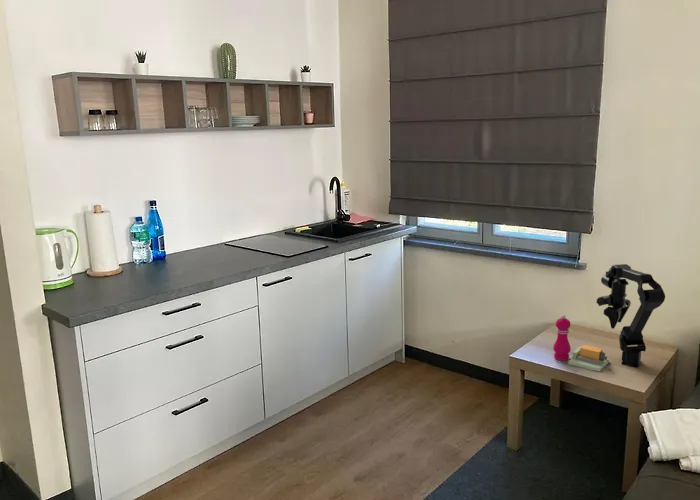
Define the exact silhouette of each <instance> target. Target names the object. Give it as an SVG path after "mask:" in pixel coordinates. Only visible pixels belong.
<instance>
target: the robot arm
mask: <svg viewBox="0 0 700 500" xmlns="http://www.w3.org/2000/svg"><path fill="white" fill-rule="evenodd" d="M600 280H601V281H600V282H601V284H602V285H603V286H605V287H607V288H608V289H611V291H610V294H609V295H604V296H599V297H597V299H596V302H595V303H596V304H598V306H599V307H601V306H606V305H607V307H606V308H604V309H603V315H604V316H605V317H607V318H608V320H609V324H610V328H611V329H615V327H616V325H618V323H621V322H622V321H623V318H624V317H625V316H626V315H627V314H626V313H627V312H628V310H629V309H630V307H631V304H632V302H631V300H629V299H627V298H626V297H627V296H628V295H627V292H626V291H627V286H629V285H630V283H629V282H628V280H629V281H631V282H632V281H633V282H635V283H637V289H636V291H637V294H638V296H639V297H638V300H639V301H640V305H639V307H638V309H637V311H636V313H635V314H634V317H633V319H632V320H631V323H630V325H625V326H623V327H622V329H621V331H619V332H620V334H619V336H618V340H619V341H618V342H619V348H620V350H621V361H622V362H621V365H626V366H629V367H634V368H638V367H639V366H640V365H641V364H642V362H643V361H642V359H641V358H642V352H646V349H647V346H646V344H645V341H644V335H643V333H642V332H643V330H644V328H645V326H646V325H647V322H648V321H649V319H650V317H651V315H652V314H653V311H654V310H656V309H657V308H660V307H661V306H662V305H663V303H664V302H665V300H666V294H665V291H664V290H663V288H662V285H661V284H660V283H658V282H657V281H656V280H654V278H653V275H652V274H650V273H645V272H642V271H639V270H635V269H632V267H631V266H630V265H628V264H626V263H625V264H612V265H611V267H610V268H609V269H608V271H605V274H604V275H602V277H601V278H600ZM645 284H648V286H649V287H650V289H644V288H643V285H645ZM651 288H652V289H651Z"/></svg>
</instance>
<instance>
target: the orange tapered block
mask: <svg viewBox="0 0 700 500" xmlns="http://www.w3.org/2000/svg"><path fill="white" fill-rule="evenodd" d="M580 347H581V348H580V356H581V357H585V358H589V359H593V360H598V361H604V358H605V356H606V353H605V351H603V350H604V349H603V348H600V347H595V346H593V345H587V344H583V345H581V346H580Z"/></svg>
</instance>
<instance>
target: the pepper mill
mask: <svg viewBox="0 0 700 500" xmlns="http://www.w3.org/2000/svg"><path fill="white" fill-rule="evenodd" d="M555 327H556V332H557V337H556V340H555V342H554V344H553V352H554V354H553V357H554V359H555V360H558V361H563V362H564V361H569V360H570V353H571V352H572V351H571V345H570V342H569V338H568V334H569V332H570V328H571V322H570V320H569V319H568V318H566V315H564V314H561V316H560V318H557V319H556V321H555Z"/></svg>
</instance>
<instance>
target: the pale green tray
mask: <svg viewBox="0 0 700 500" xmlns="http://www.w3.org/2000/svg"><path fill="white" fill-rule="evenodd" d="M581 347H582V346H578V347H576V349H575V350H573V351H572V357H571V358H569V359H568V362H567V363H568V365H571V366H575V367H578V368H579V367H580V368H583V369H587V370H591V371H596V372H601V371H602V370H603V369H604V367H606V366H607V364H609V362H610V358H608V356H607V355H605V358H604V361H598V360H593V359H589V358H585V357H581V356H580V348H581Z"/></svg>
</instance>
